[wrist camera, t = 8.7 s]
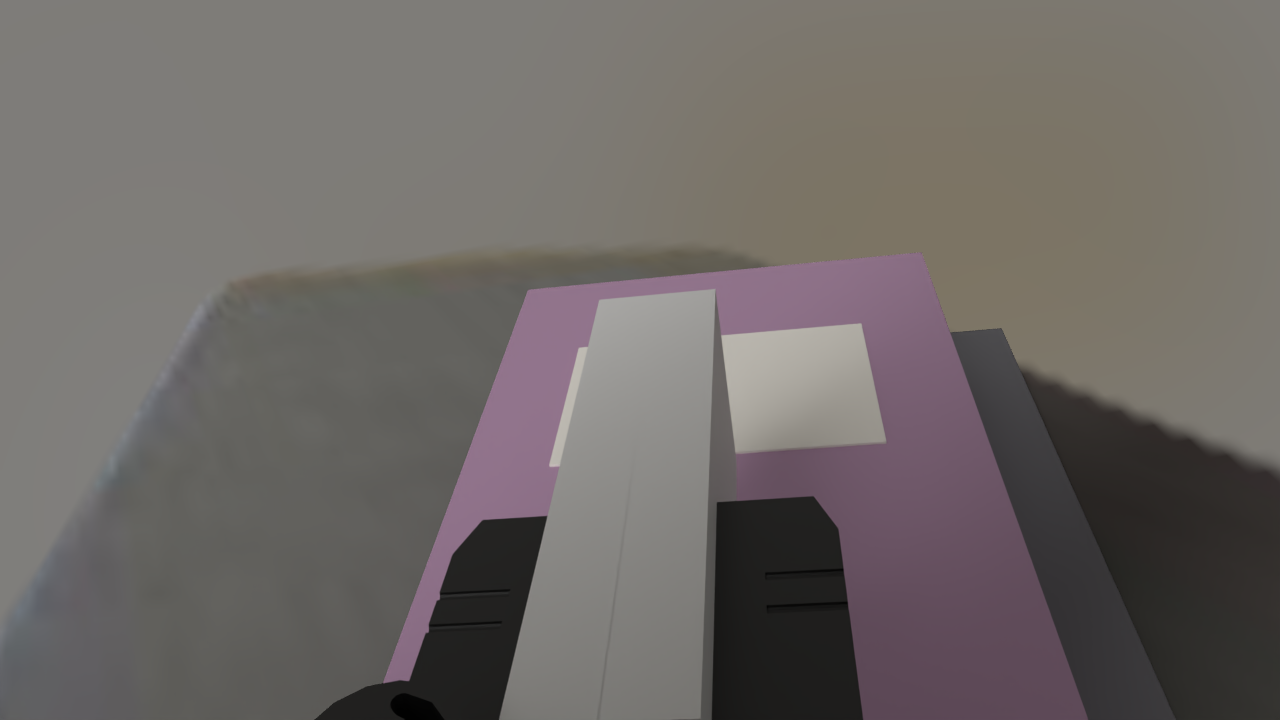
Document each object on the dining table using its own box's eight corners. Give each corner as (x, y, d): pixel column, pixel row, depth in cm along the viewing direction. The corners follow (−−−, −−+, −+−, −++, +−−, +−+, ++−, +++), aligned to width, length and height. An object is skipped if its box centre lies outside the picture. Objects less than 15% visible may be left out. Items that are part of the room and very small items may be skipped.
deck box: (1141, 867, 11) (921, 250, 25) (310, 875, 13) (527, 288, 26) (1112, 1029, 13) (922, 373, 27) (387, 1021, 15) (553, 402, 28)
